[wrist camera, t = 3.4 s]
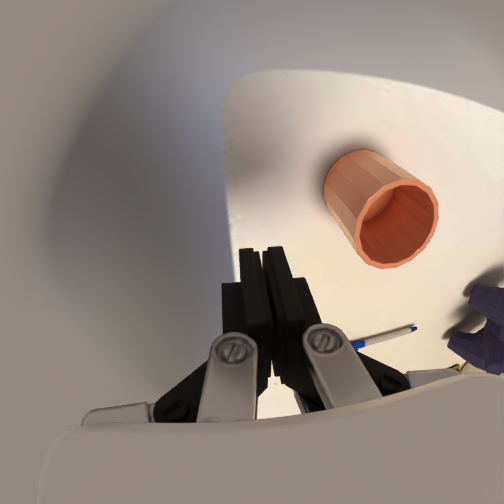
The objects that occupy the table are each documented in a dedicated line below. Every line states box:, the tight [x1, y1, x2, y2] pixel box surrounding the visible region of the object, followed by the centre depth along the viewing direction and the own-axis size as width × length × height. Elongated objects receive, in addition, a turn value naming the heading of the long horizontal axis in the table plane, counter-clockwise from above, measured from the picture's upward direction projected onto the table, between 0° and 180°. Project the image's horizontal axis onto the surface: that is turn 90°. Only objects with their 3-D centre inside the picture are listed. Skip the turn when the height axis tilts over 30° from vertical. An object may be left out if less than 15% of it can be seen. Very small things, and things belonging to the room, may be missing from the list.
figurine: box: [447, 285, 504, 376], centre depth 25 cm, size 11×12×11 cm
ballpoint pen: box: [351, 327, 417, 351], centre depth 28 cm, size 10×1×1 cm, turn 100°
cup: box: [324, 150, 439, 269], centre depth 17 cm, size 6×6×6 cm
